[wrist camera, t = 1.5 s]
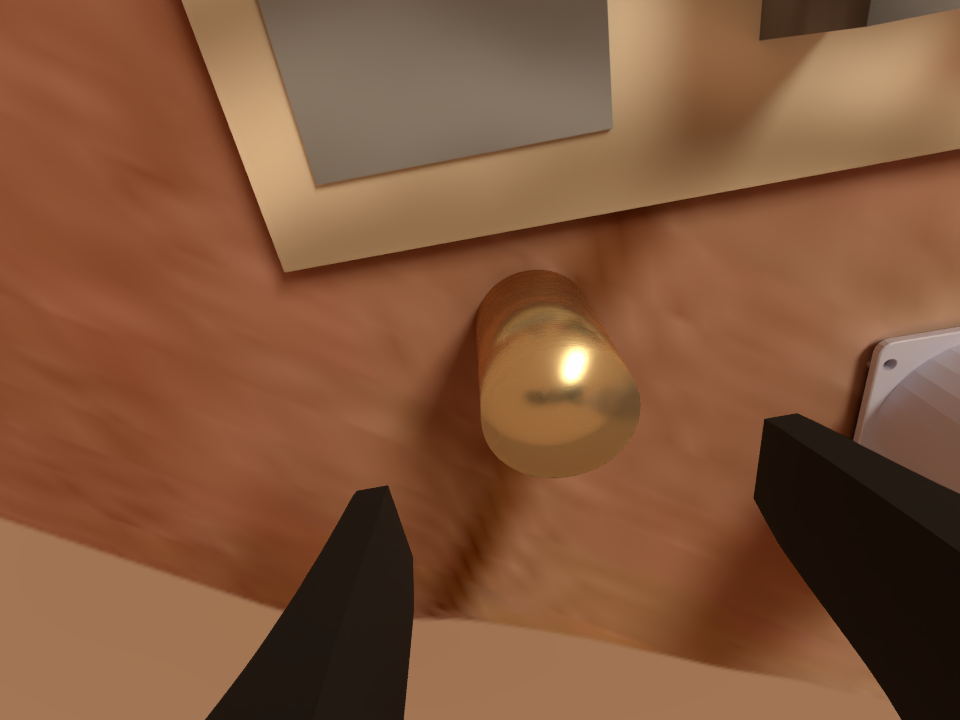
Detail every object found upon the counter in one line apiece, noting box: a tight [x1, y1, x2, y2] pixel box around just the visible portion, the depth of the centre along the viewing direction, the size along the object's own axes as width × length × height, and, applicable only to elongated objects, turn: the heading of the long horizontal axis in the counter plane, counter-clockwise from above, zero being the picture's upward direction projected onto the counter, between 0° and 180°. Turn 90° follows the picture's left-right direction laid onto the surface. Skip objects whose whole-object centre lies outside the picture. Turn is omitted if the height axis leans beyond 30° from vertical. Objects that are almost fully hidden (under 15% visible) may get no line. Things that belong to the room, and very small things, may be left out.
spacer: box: [476, 270, 641, 478], centre depth 17 cm, size 4×4×6 cm
